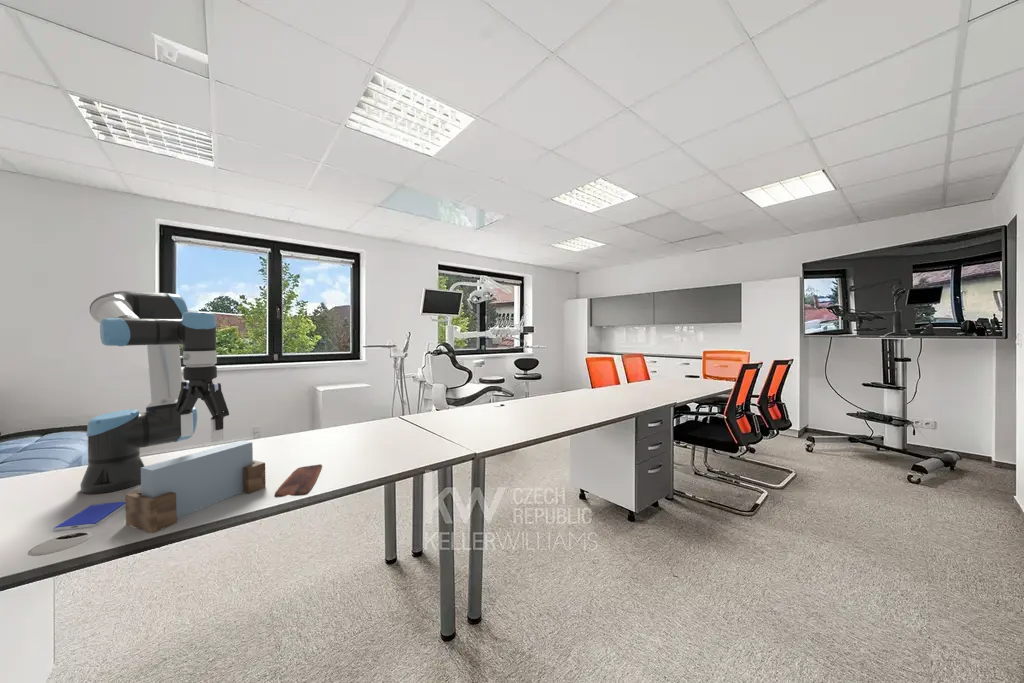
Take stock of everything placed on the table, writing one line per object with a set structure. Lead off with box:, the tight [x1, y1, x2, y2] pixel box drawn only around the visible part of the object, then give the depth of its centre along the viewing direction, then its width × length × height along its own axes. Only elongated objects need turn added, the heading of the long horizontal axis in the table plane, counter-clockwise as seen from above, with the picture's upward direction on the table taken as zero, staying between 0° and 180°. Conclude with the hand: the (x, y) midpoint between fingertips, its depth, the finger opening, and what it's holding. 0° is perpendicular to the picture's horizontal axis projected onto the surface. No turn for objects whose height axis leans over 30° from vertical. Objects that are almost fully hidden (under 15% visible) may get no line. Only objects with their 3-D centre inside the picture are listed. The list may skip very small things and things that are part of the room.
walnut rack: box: [124, 459, 266, 534], centre depth 112 cm, size 11×30×8 cm, turn 159°
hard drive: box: [53, 501, 126, 532], centre depth 104 cm, size 2×8×12 cm
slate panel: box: [140, 439, 254, 518], centre depth 111 cm, size 5×26×15 cm, turn 159°
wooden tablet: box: [274, 463, 323, 498], centre depth 130 cm, size 26×2×10 cm
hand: (202, 438), depth 111 cm, fingers open, 13 cm apart
